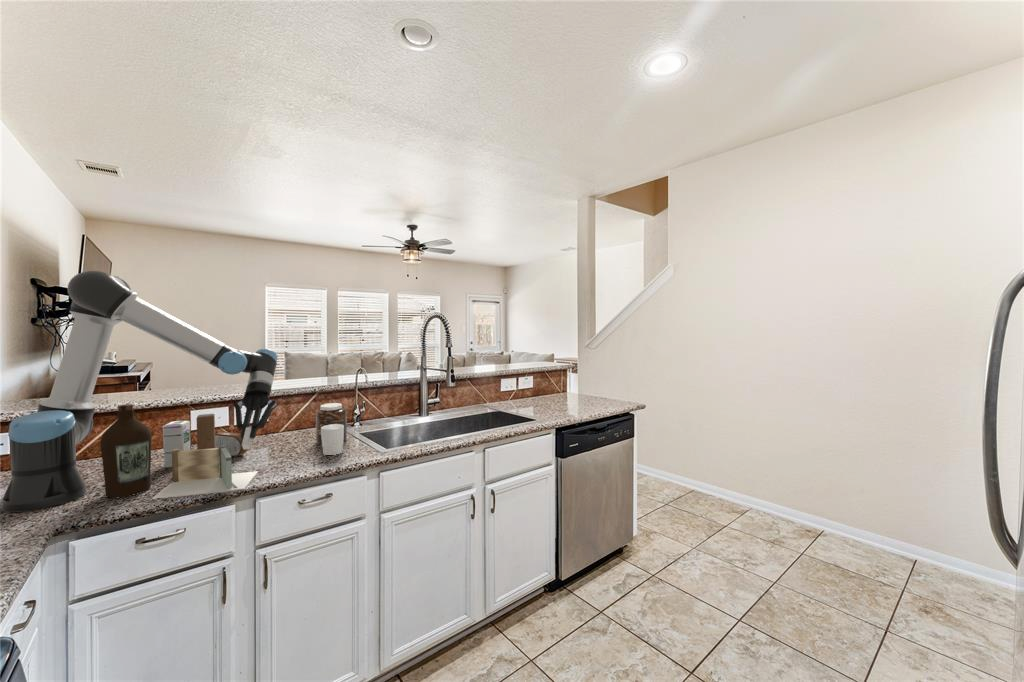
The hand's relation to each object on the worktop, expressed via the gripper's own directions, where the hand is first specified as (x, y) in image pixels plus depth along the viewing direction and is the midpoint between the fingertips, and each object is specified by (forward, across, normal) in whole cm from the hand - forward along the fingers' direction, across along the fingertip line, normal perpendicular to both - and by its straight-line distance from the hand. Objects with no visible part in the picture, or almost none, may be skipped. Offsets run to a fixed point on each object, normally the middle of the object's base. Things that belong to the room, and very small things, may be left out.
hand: (245, 447), depth 129 cm
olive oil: (+10, +28, -4) cm, 30 cm away
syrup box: (-6, +25, -20) cm, 33 cm away
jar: (-17, -22, -30) cm, 41 cm away
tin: (-11, +12, -24) cm, 29 cm away
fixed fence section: (+7, +12, -6) cm, 15 cm away
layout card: (+10, +8, -2) cm, 13 cm away
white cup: (-5, -24, -18) cm, 30 cm away
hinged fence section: (+11, +3, -1) cm, 11 cm away
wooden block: (0, +16, -14) cm, 21 cm away
